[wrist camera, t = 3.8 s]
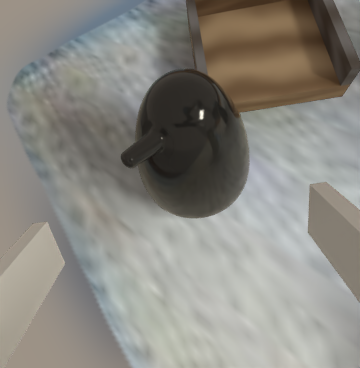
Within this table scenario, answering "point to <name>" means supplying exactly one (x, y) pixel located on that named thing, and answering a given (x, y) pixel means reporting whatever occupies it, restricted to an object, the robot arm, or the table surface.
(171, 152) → the pump dispenser
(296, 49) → the stand
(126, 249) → the table surface
